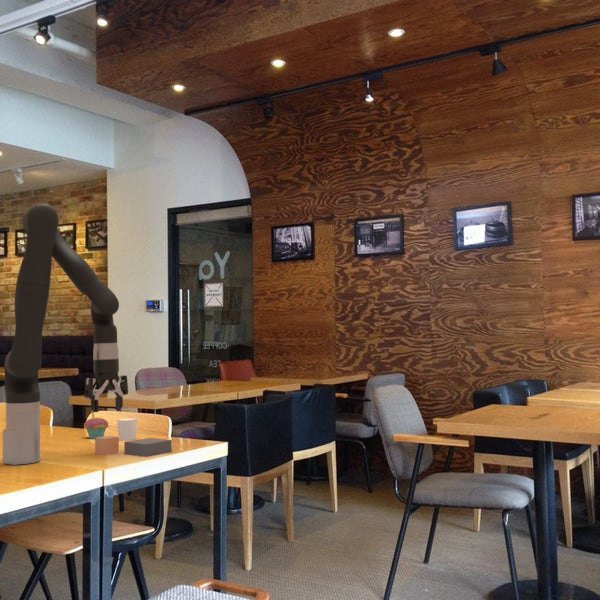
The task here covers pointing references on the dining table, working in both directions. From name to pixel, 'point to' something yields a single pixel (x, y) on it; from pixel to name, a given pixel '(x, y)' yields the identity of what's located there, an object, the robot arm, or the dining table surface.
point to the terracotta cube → (106, 445)
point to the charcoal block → (148, 447)
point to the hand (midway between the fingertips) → (107, 410)
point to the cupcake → (95, 427)
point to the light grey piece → (127, 428)
